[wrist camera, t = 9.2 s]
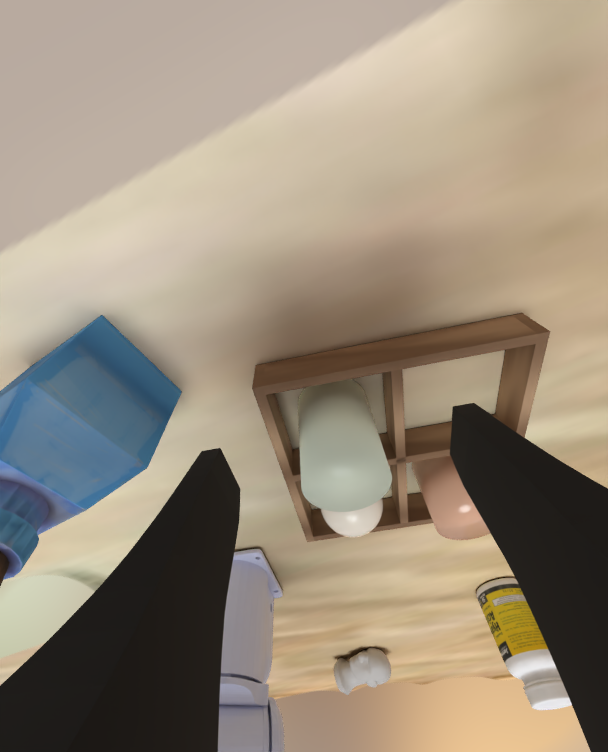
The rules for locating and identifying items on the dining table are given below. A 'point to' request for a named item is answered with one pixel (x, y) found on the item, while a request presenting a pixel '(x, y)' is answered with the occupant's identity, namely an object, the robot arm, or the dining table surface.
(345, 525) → the egg
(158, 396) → the perfume bottle
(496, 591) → the supplement bottle
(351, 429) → the sage green cylinder
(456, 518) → the pink rounded cylinder
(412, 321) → the dining table surface
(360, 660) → the smooth white sculpture
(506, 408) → the wooden compartment tray
